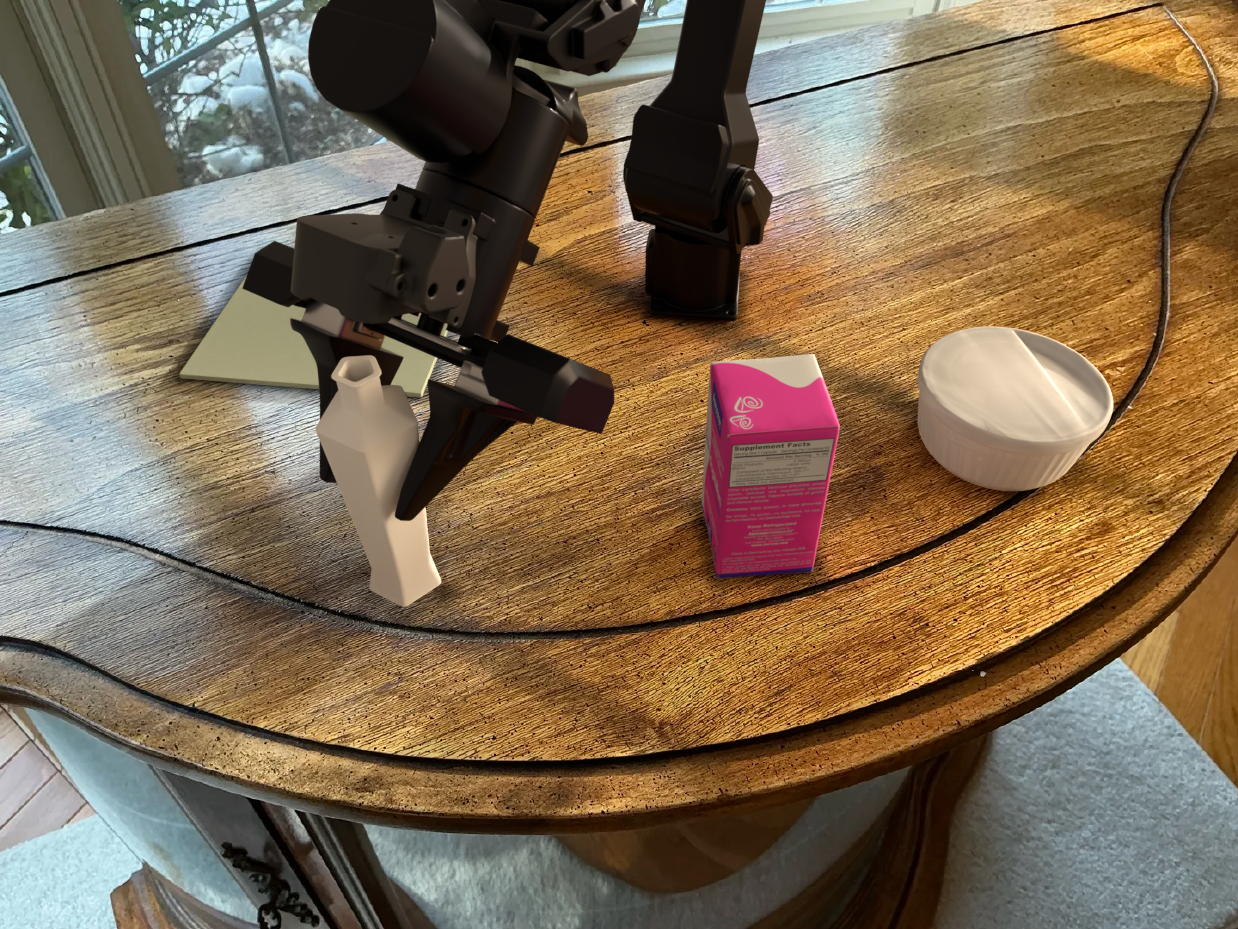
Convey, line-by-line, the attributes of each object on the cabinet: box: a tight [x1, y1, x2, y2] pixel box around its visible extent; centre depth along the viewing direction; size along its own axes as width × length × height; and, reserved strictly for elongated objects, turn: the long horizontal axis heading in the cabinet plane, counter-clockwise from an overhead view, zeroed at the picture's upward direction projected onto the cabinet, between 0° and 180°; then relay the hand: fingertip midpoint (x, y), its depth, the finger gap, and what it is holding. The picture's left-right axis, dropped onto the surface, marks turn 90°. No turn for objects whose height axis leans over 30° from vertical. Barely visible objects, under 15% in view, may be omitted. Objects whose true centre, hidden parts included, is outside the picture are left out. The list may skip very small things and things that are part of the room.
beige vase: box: [314, 355, 442, 608], centre depth 49 cm, size 5×4×15 cm
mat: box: [178, 276, 449, 398], centre depth 72 cm, size 17×16×1 cm
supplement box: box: [701, 353, 841, 580], centre depth 53 cm, size 6×6×12 cm
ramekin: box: [916, 325, 1114, 492], centre depth 61 cm, size 11×11×5 cm
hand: (364, 500), depth 48 cm, fingers closed on beige vase, 4 cm apart
